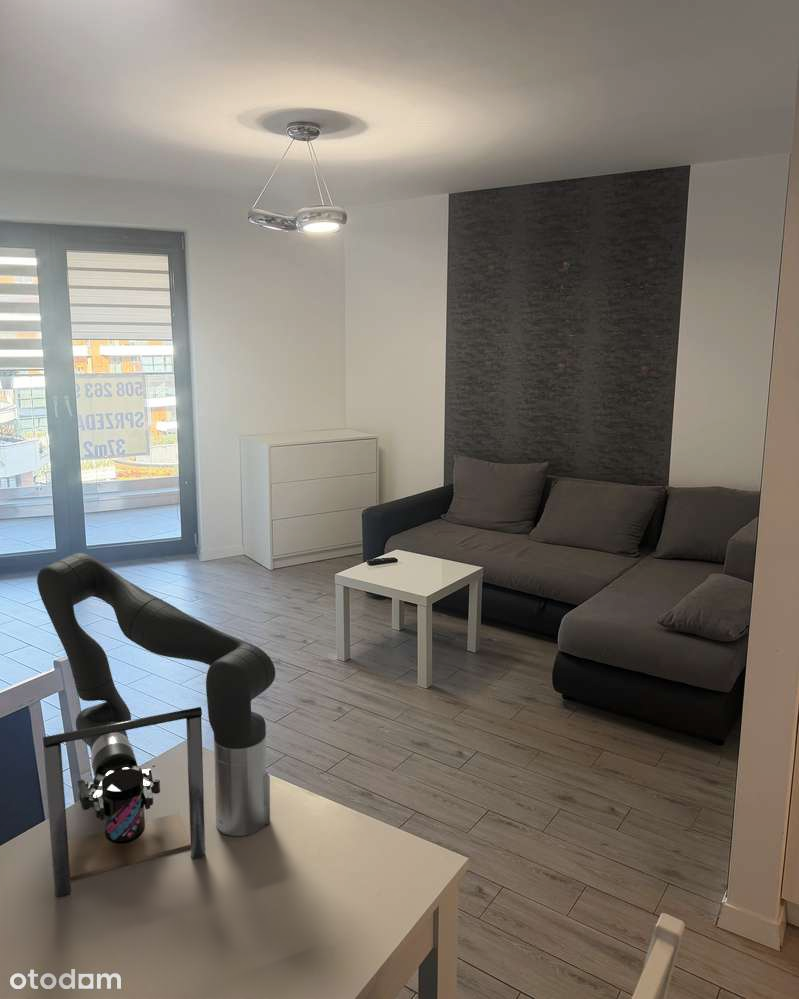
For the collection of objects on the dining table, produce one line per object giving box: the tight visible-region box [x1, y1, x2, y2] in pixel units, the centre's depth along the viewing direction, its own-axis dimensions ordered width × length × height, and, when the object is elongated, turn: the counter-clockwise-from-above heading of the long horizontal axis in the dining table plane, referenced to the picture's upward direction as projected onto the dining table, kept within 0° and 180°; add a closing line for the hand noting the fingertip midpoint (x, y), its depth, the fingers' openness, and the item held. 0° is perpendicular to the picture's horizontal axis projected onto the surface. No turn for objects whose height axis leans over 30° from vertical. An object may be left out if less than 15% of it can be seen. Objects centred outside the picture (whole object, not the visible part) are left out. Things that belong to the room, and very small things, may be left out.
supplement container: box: [102, 769, 146, 844], centre depth 130 cm, size 7×7×10 cm
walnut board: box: [68, 812, 191, 881], centre depth 132 cm, size 20×10×1 cm, turn 117°
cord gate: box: [42, 706, 206, 899], centre depth 122 cm, size 24×2×27 cm, turn 117°
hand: (125, 809), depth 128 cm, fingers closed on supplement container, 6 cm apart
